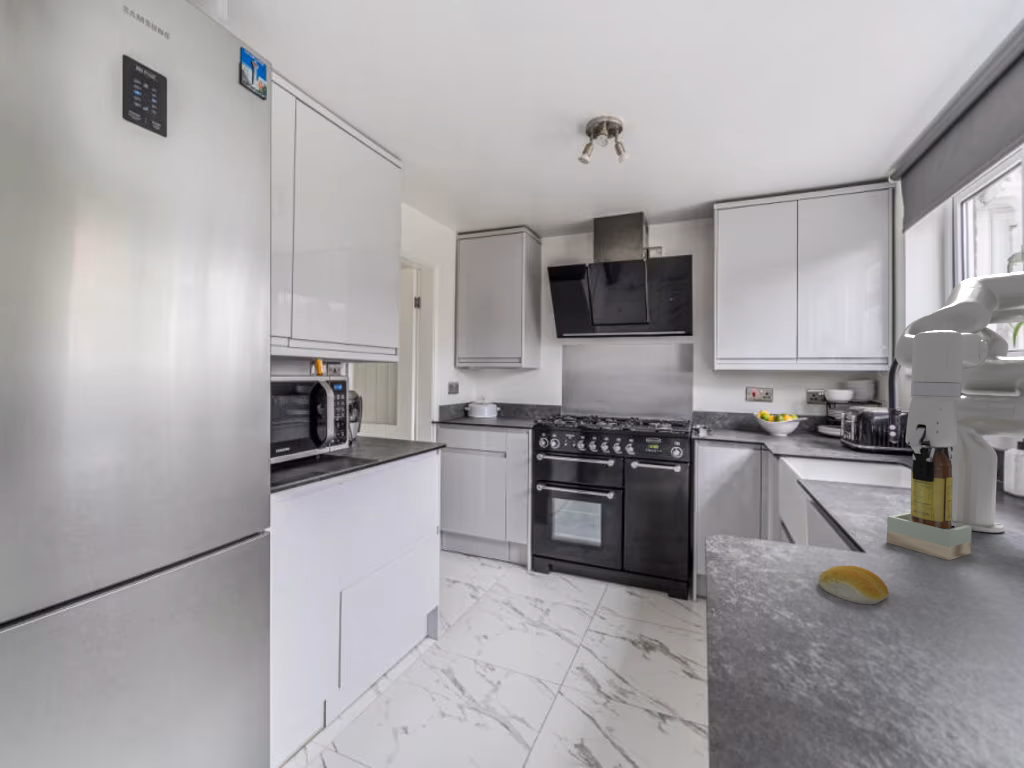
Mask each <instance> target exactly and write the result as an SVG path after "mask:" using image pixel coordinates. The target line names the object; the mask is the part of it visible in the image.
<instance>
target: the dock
mask: <svg viewBox="0 0 1024 768" xmlns="http://www.w3.org/2000/svg"><path fill="white" fill-rule="evenodd" d="M911 517H912V515H911V511H908V512H903V513H899V514H892V515H888V516H887V518H886V520H887V521H886V522H887V524H886V543H887V544H891V545H895V546H897V547H902V548H904V549H909V550H911V551H915V552H919V553H923V554H926V555H929V556H932V557H936V558H940V559H943V560H945V561H951V560H954V559H958V558H961V557H965V556H968V555H971V552H972V551H971V550H972V549H971V548H972V531H973V530H972V526H968V525H965V526H960V527H952V528H949V529H941V528H937V527H933V526H929V525H925V524H921V523H916V522H913V521H912V518H911Z"/></svg>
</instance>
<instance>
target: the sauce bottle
mask: <svg viewBox="0 0 1024 768" xmlns="http://www.w3.org/2000/svg"><path fill="white" fill-rule="evenodd" d="M922 445H928V446H930V445H929V444H926V443H922ZM944 450H945V448H944V447H942V448H935V451H934V455H933V459H932V462H935V465H934V481H933V482H927V481H921V480H915V479H913V464H912V465H911V467H910V512H911V515H912V517H911V518H912V521H913V522H916V523H921V524H925V525H929V526H933V527H937V528H941V529H945V530H948V529H951V527H952V526H951V520H952V486H953V477H952V464H951V462H950V460H949V458H948V457H947V456H946V454H945V453H944ZM926 452H927V453H928V450H926Z"/></svg>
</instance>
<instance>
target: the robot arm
mask: <svg viewBox="0 0 1024 768" xmlns="http://www.w3.org/2000/svg"><path fill="white" fill-rule="evenodd" d="M1009 323H1011V324H1012V323H1024V271H1017V272H1010V273H1009V272H1007V273H999V274H991V275H983V276H977V277H970V278H967V279H964V280H961V282H958V283H957V284H956V285H955V286H954V287H953V289H952V290H951V293H950V294H949V296H948V298H947V299H946V301H945V303H944V305H943V306H942V308H940V309H937V310H935V311H933V312H931V313H928V314H925V316H922V317H920V318H918V319H915V320H913V321H912V322H911V323H909V324H908V325H907V326H906V327H905V328H904V330H903V332H902V333H901V335H900V336H899V338H898V340H897V342H896V346H895V349H894V355H895V356H894V357H895V360H896V362H897V364H898V365H900V366H901V367H903V368H905V369H911V380H910V381H911V382H910V398H911V400H910V404H909V407H908V408H909V409H908V415H907V420H906V421H907V422H906V430H905V431H906V432H905V443H906V444H907V445H908V446H910V448H911V452H912V457H911V458H912V461H913V462H912V465H913V479H915V480H921V481H927V482H933V481H934V465H935V462H932V459H933V455H934V451H935V448H942V447H944V448H945V450H944V453H945V454H946V456H947V457H948V458H949V460H950V462H951V464H952V477H953V486H952V520H951V527H952V526H954V527H953V528H956V527H960V526H965V525H968V526H972V531H974V532H981V533H982V532H983V533H991V534H993V533H997V534H999V533H1003V532H1004V531H1005V526H1004V525H1003V524H1002V523H999V522H996V521H995V520H996V519H995V518H996V502H997V501H996V500H997V499H996V497H997V478H998V477H997V474H998V473H997V472H998V455H997V452H996V450H995V448H993V446H992V445H991V444H990V443H989V442H988V441H987V440H986V439H985V438H984V437H985V436H987V437H988V436H991V437H1003V438H1014V439H1024V356H1008V351H1009V343H1008V341H1006V339H1005V338H1004V337H1003V336H1001V335H1000V334H999V333H998V332H996V331H995V330H992V329H991V328H989V327H987V326H989V325H993V324H994V325H995V324H997V325H998V324H1009ZM922 443H926V444H929V445H930V446H928V445H922ZM926 450H928V453H927V452H926Z"/></svg>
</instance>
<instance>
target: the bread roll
mask: <svg viewBox="0 0 1024 768" xmlns="http://www.w3.org/2000/svg"><path fill="white" fill-rule="evenodd" d="M818 577H819V578H818V584H819V585H820V588H822V590H824V591H825V592H826V593H828V594H830V595H833V596H835V597H837V598H840V599H842V600H845V601H848V602H851V603H854V604H860V605H861V604H862V605H875V604H878V603H880V602H881V601H884V600H885V599H886V598H888V596H889V594H890V593H889V590H888V589H889V588H888V586H887V584H886V583H885V582H884V580H882V578H881V577H880V576H879V575H878V574H875V573H873V571H870V570H869V569H866V568H863V567H861V566H856V565H837V566H832V567H830V568H828V569H826V570H824V571H822V572H821V573H820V574H819V576H818Z"/></svg>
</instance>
